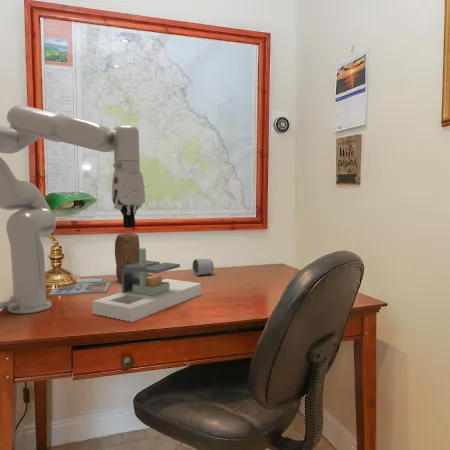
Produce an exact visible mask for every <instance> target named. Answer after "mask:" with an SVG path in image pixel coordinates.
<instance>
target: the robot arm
mask: <svg viewBox="0 0 450 450" xmlns="http://www.w3.org/2000/svg"><path fill="white" fill-rule="evenodd" d="M6 120H7V124H8V125H9V127H7V126H3V125H0V153H1V154H9V155H11V154H15V153H18V152H20V151H22V150H23V149H26V148H27V147H29V146H31V144H34V143H35V142H37V141H39V139H43V140H46V141H47V140H48V141H51V142H55V143H65V144H69V145H73V146H76V147H77V146H78V147H81V148H85V149H89V150H92V151H98V152H101V153H111V152H113V160H114V161H113V162H114V163H113V164H112V166H113V168H114V171H113V174H112V181H111V182H112V183H111V199H112V203H113V204H114V206H113V207H114V209H115V210H118V211H120V213H121V216H122V217H123V221H122V222H123V228H125V229H132V228H133V229H134V228H135V227H136V219H135V218H136V217H135V215H136V214H137V210H139V209H142V207H143V204H145V202H146V191H145V184H144V177H143V173H142V172H141V169H140V168H141V165H140V164H141V161H140V132H139V129H138V128H137V127H136V126H133V125H117V126H115V127H114V128H110V127H107V126H104V125H102V124H97V123H95V122H91V121H87V120H83V119H79V118H74V117H70V116H67V115H64V114H60V113H56V112H54V111H53V112H52V111H49V110H43V109H40V108H36V107H32V106H28V105H21V104H20V105H15V106H13V107H11V108H10V109H9V111H8V112H7V114H6ZM0 209H2V210H4V211H15V212H14V213H12V214H11V215H10V216H9V218H8V219H7V221H6V226H5V227H6V234H7V237H8V238H7V239H8V242H9V247H10V248H9V249H10V261H11V262H10V263H11V276H12V277H11V278H12V296H9V299H8V300H6V301H1V302H0V310H2V309H6V308H7V309H8V312H10V313H12V314H19V315H20V314H33V313H34V314H35V313H38V312H42V311H45V310H46V311H47V310H48V309H50V308H51V307H52V306H53V305H52V302H51V300H49V299H48V300H47V285H46V264H45V262H46V261H45V251H44V246H43V243H42V240H41V238H44V237H47V236H49V235H52V234H53V233H54V232H55V230H56V227H57V219H56V217H55V214H54V212H53V211H52V209H51V207H50V206H49V204H48V202H47V200H46V198H45V197H44V195H43V193H42V192H41V191H40V188H38V187H37V186H36V185H35V183H32V182H30V181H27V180H19V179H17V177H16V176H15V175H14V173H13V172H12V170H11V168H10V167H9V164H8V163H7V162H6V161H5V160H4V159H3V158H2V157H1V156H0ZM17 210H18V211H17Z"/></svg>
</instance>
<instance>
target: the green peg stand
mask: <svg viewBox="0 0 450 450" xmlns="http://www.w3.org/2000/svg"><path fill="white" fill-rule="evenodd" d="M146 255H147V249H146V248H145V247H143V248H140V249H139V267H140V268H145V267H146V260H147V256H146ZM168 290H170V287H169V282H162V284H160V285H157V286H154V287H149V286H147V283H146V272H142V271H140V283H137V284H133V292H135V293H141V294H147V295H156V294H159V293H162V292H165V291H168Z"/></svg>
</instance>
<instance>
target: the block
mask: <svg viewBox="0 0 450 450" xmlns="http://www.w3.org/2000/svg"><path fill="white" fill-rule="evenodd" d="M140 246H141V245H140V238H139V235H138V234H137V233H134V232H133V233H132V232H124V233H118V235H116V238H115V241H114V258H115V259H114V260H115V266H116V269H115V271H116V279H117V281H118V282H121V283H122V278H121V266H123V265H127V264H132V263H136V262H139V249H140Z"/></svg>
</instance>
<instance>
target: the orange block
mask: <svg viewBox="0 0 450 450" xmlns="http://www.w3.org/2000/svg"><path fill="white" fill-rule="evenodd" d="M162 277H163V276H162V275H155V274H148V275H147V276H146V283H147V286H149V287H154V286H157V285H160V284H162V280H163V278H162Z"/></svg>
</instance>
